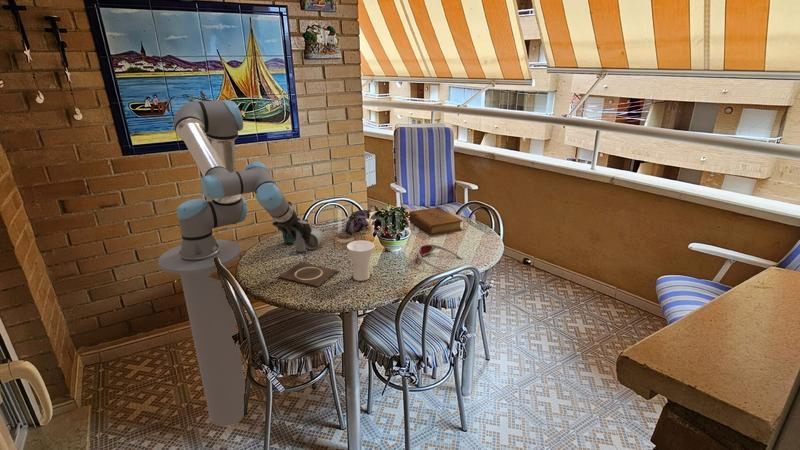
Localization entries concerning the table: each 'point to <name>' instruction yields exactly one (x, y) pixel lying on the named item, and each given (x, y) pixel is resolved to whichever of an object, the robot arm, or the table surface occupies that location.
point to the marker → (300, 242)
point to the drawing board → (308, 274)
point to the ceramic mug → (314, 239)
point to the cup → (360, 258)
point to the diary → (435, 221)
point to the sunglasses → (428, 249)
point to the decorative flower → (357, 221)
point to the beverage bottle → (287, 237)
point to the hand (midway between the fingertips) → (304, 239)
